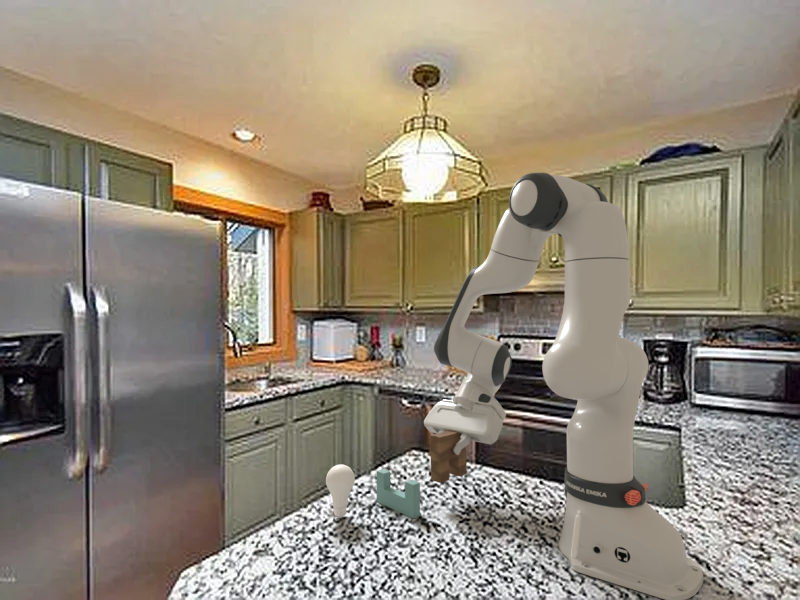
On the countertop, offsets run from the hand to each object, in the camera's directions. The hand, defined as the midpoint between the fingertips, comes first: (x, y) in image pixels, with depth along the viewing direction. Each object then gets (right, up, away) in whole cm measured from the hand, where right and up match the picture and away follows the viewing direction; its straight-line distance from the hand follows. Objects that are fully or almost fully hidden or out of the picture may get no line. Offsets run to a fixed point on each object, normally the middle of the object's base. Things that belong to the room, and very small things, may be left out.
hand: (446, 451), depth 104 cm
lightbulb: (-24, -12, -8) cm, 27 cm away
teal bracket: (-11, -12, -3) cm, 17 cm away
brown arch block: (+1, -6, 0) cm, 6 cm away
